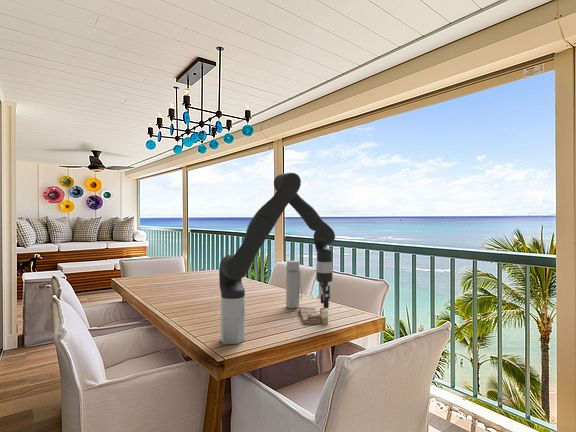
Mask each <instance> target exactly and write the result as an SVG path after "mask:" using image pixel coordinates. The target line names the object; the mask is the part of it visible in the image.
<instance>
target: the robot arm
mask: <svg viewBox="0 0 576 432" xmlns="http://www.w3.org/2000/svg"><path fill="white" fill-rule="evenodd" d="M301 185H302V181H301V177H300V175H299V174H297V173H296V172H285V173H281V174H278V175H277V176H275V178H274V180H273V187H274V189H275V191H276V192H275V193H274V195H273V196H272V197H271V198H270V199H269V200H268V201H266V203H264V204H263V205H262V206H261V207H260V208H259V209H258V210H257V211H256V212H255V214H254V215H253V217H252V218H251V220H250V221H249V223H248V226H247V227H246V232H245V236H244V239H243V242H242V243H241V245H240V246H239V248H238V249H237V251H236V252H235V253H234V254H227V255H225V256H224V257H223V258H222V259H221V260H220V262H219V269H218V270H219V273H218V275H219V281H218V282H219V283H218V284H219V290H220V342H221V343H222V345H240V343H243V342H244V341H245V300H246V297H245V295H246V291H245V287H244V285H243V283H242V282H243V281H242V279H243V278H245V276H246V275H247V273H248V272H249V270H250V267H251V266H252V264H253V262H254V259H255V258H256V256H257V254H258V252H259V250H260V249H261V248H262V246H263V245H264V242H265V241H266V239H267V238H268V236H269V235H270V234H271V232H272V230H273V228H274V227H275V225H276V223H277V222H278V220H279V219H280V217H281V215H282V214H283V213H284V211H285V209H286V208H287V206H288V205H290V206H291V207H292V208H293V209H294V211H296V213H297V214H298V215H299V217H300V218H301V219H302V220H303V222H304V223H305V224H306V226H307V227H308V228H309V229H310V230H311V231H313V232H314V233H313V242H314V247H315V252H316V272H315V273H316V274H315V275H316V277H315V279H316V281H317V282H318V283H319V295H320V304H323V308H327V309H329V304H330V303H329V300H331V295H330V294H331V293H330V291H331V290H330V288H331V286H330V285H329V283H331V282H333V252H332V249H330V248H329V247H328V246H327V245H328V244H332V243H334V241H335V239H336V234H335V232H334V229H333V228H332V227H331V226H330V225H329V224H328V223H327V222H326V221H324V220H323V219H322V218H321V216H320V215H319V213H318V211H316V210H315V208H314V207H313V206H312V205H311V204H310V203H308V201H306V200H305V199H303V198H302V197H301V196H300V195H299V194H298V192H299V190H300V188H301Z"/></svg>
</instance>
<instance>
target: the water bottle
mask: <svg viewBox="0 0 576 432" xmlns="http://www.w3.org/2000/svg"><path fill="white" fill-rule="evenodd" d="M300 267H301V266H300V261H299V260H287V261H286V269H285V270H286V272H285V273H286V278H285V279H286V280H285V281H286V284H285V291H286V292H285V299H286V300H285V306H286V308H288V309H297V308H298V309H299V306H300V300H302V299H303V289H302V278H301V273H302V270H300ZM300 293H301V294H300ZM300 295H301V296H300Z"/></svg>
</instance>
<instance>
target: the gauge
mask: <svg viewBox="0 0 576 432" xmlns="http://www.w3.org/2000/svg"><path fill="white" fill-rule="evenodd" d="M308 318H320V319H321V323H322V324H321V325H323V324H325V325H327V324H329V310H328V308H324V307H319V313H318V314H311V313H308Z"/></svg>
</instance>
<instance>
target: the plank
mask: <svg viewBox="0 0 576 432" xmlns="http://www.w3.org/2000/svg"><path fill="white" fill-rule="evenodd" d="M298 313H299V315H300V319H301V321H302V324H303V325H322V324H321V319H320V318H308V313H311V314H319V313H318V312H317V309H316V307H315V306H300V307H298Z"/></svg>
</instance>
